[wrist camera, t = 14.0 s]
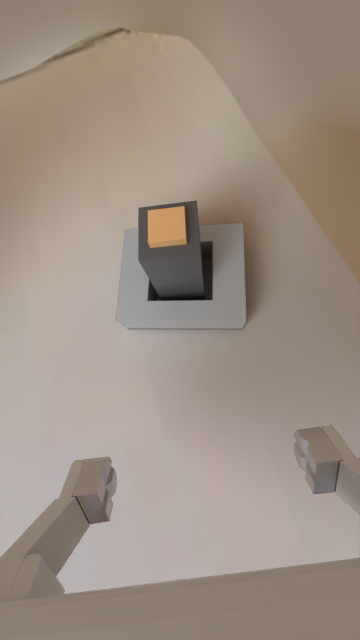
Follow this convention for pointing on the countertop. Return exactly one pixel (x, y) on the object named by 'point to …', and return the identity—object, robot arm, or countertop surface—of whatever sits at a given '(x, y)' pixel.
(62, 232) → the countertop surface
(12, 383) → the countertop surface
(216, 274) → the socket plate
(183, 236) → the plug
